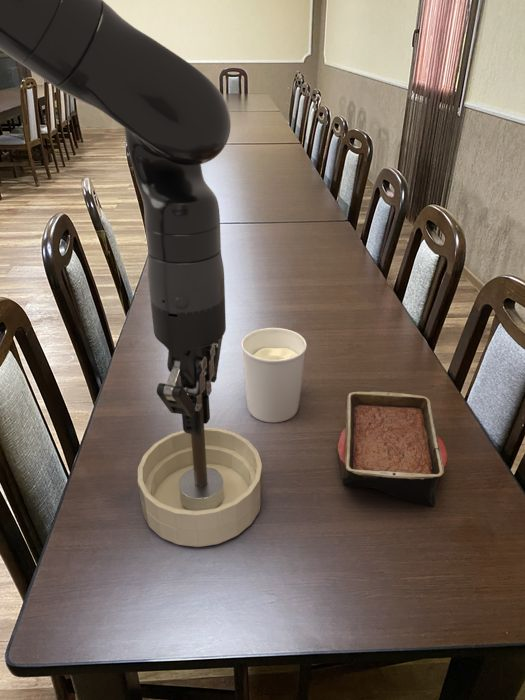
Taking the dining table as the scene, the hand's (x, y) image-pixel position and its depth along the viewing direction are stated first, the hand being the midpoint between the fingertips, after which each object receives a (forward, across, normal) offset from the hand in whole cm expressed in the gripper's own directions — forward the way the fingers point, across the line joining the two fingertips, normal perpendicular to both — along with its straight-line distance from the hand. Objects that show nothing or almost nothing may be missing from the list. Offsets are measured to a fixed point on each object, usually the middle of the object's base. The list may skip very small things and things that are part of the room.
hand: (196, 426), depth 63 cm
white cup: (+13, -22, +4) cm, 26 cm away
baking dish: (+13, -13, +23) cm, 29 cm away
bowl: (+12, 0, 0) cm, 12 cm away
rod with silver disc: (+11, 0, 0) cm, 11 cm away
